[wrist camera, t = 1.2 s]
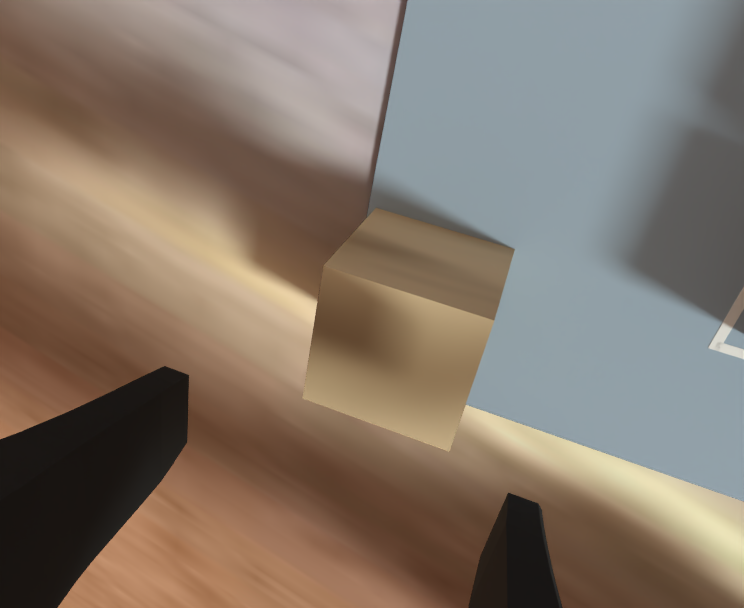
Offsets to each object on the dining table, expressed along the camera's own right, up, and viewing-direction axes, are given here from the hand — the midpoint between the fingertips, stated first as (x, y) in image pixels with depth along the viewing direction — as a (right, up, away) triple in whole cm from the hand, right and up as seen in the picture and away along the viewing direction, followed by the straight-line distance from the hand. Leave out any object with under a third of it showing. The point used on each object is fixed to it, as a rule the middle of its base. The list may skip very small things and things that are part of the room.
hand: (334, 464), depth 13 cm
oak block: (+3, +4, +7) cm, 9 cm away
